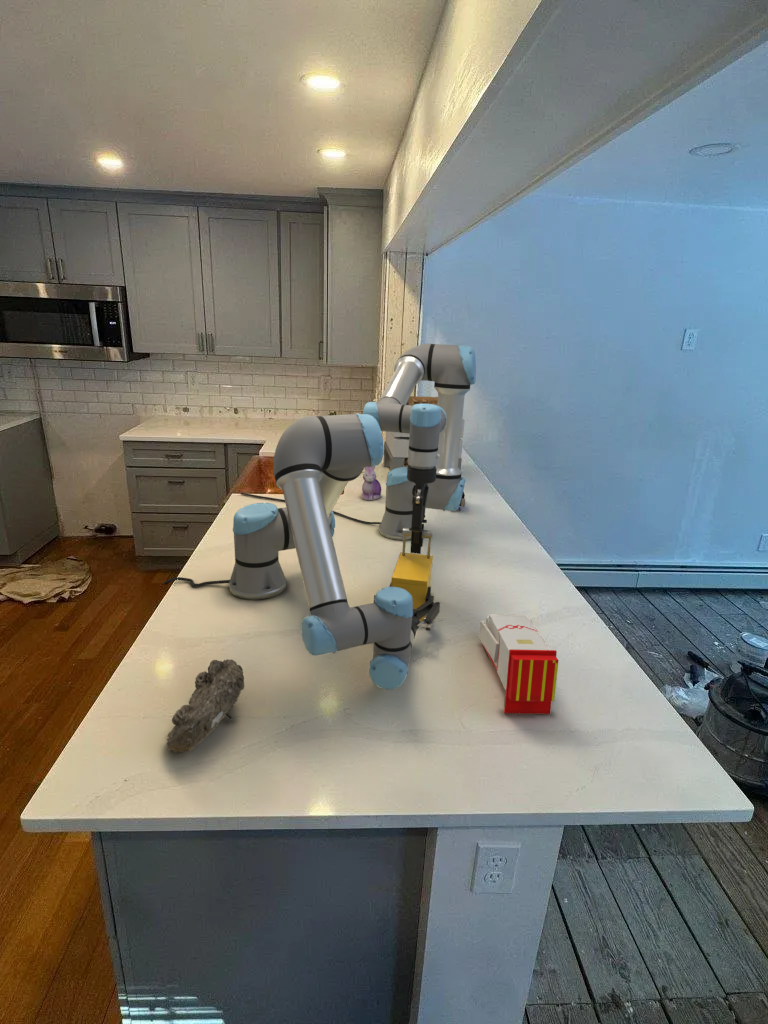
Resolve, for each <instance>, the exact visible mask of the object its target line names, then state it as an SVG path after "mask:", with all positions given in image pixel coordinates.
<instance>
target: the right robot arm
mask: <svg viewBox="0 0 768 1024" xmlns="http://www.w3.org/2000/svg"><path fill="white" fill-rule="evenodd" d="M476 377H477V363H476V353H475V350H474V348H473V347H471V346H468V345H461V344H443V343H442V344H441V343H439V344H438V343H421V344H418V345H415V346H413V347H411V348H410V349H408V350H407V351H405V352H404V353H402V354H401V355H400V356H399V357H398V358H397V360H396V362H395V364H394V367H393V374H392V376H391V378H390V380H389V382H388V383H387V385H386V387H385V388H384V389H383V390H384V391H383V392H382V394H381V396H380V398H379V399H378V401H368V402H366V404H364V407H363V410H362V414H369V415H371V416H373V417H374V418H375V419H376V420H377V422H378V424H379V426H380V429H381V432H386V431H387V432H399V433H409V434H410V435H409V448H408V462H407V463H408V464H409V466H404V467H401V468H396V469H393V470H391V471H390V470H389V472H388V473H387V475H386V482H385V504H384V505H385V507H384V508H385V509H384V513H383V515H382V519H381V522H380V521H365V520H361V519H358V518H355V517H352V516H349V515H345V514H344V513H341V512H338V511H335V510H332V511H333V513H334V515H339V516H340V517H343V518H346V519H349V520H351V521H354V522H358V523H362V524H367V525H378V533H379V534H380V535H381V536H382V537H385V538H387V539H389V540H395V541H403V528H409V531H412V534H411V537H409V536H406V541H410V552H409V553H412V554H421V553H422V548H423V545H424V538H422V530H425V524H427V523H428V519H425V518H426V509H430V510H431V509H432V510H440V511H443V512H445V511H447V512H455V511H457V510H459V509H458V507H459V505H460V502H461V498H462V494H463V491H464V490H465V485H466V478H465V477H463V476H462V475H463V474H462V469H461V470H460V469H459V468H458V459H459V449H460V439H462V438H461V428H462V419H463V418H464V408H465V407H464V406H465V405H464V404H465V396H466V394H467V393H468V392H469V391H470V390H471V386H472V385H475V384H476V380H477V378H476ZM421 381H423V382H424V381H425V382H434V383H433V387H434V389H435V391H436V392H437V397H438V402H437V405H434V404H415V405H406V404H407V402H408V400H409V398H410V396H411V395H412V393H413V392H414V390H415V387H416V385H417V384H419V383H420V382H421ZM240 495H244V496H248V497H253V498H259V499H265V500H271V501H277V502H284V503H285V499H281V498H276V497H269V496H262V495H256V494H252V493H245V492H240Z"/></svg>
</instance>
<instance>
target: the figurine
mask: <svg viewBox="0 0 768 1024" xmlns="http://www.w3.org/2000/svg"><path fill="white" fill-rule="evenodd" d="M375 468H376V466H373V467H371V466H369V467H365V468H364V472H363V474H362V479H363V483H362V485H361V491H362V493H361V498H362V500H364V501H365V500H366V501H373V500H377V499H380V498H381V497H382V496H381V495H382V486H381V483H380V481H379V480H378V479H377V474H376V471H375Z"/></svg>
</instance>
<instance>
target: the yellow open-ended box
mask: <svg viewBox="0 0 768 1024" xmlns="http://www.w3.org/2000/svg"><path fill="white" fill-rule="evenodd" d="M432 563H433V561H432ZM432 573H433V564H432V565H431V570H430V575H429V579H428V584H427V585H418V584H410V583H401V582H392V581H391V582H390V583H391V587H399V588H402V589H405V590H406V591H407V592H409V593H410V594H411V596H412V600H413V609H417V608H418V607H420V606H421V605H422V604H424V603H425V600H426V595H427V590H428V587H431V585H432ZM431 588H432V587H431ZM426 615H427V614H426ZM426 615H425V616H424V617H426ZM424 617H422V618H421V619H420V620H419V621H422V620H423V619H424Z"/></svg>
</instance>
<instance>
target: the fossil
mask: <svg viewBox="0 0 768 1024" xmlns="http://www.w3.org/2000/svg"><path fill="white" fill-rule="evenodd" d="M243 670H244V669H243V667H242V665H240V664H237V662H236V661H235V660H234V659H232V658H231V659H227V658H226V659H224V660H223V661H222V660H217V659H212V660H211V661H210V663H209V665H208V666H207V671H201V672H199V673H198V674H197V675H196V676H195V680H194V684H195V685H194V687H195V689H194V690H193V693H192V694H191V697H190V698H189V700H188V704H184V705H182V706H181V707H180V709H177V710H176V711H175V713H174V715H173V716H172V718H171V723H172V724H173V727H172V730H171V731H170V732H168V734H167V738H166V741H167V742H166V745H167V749H168V750H169V751H173V752H174V753H176V754H178V753H182V752H188V751H189V752H192V751H193V750H195V748H196V747H197V746H199V744H200V743H201V742H203V741H204V740H205V739H206V738H207V737H208V736H209V735H210V734H211V733H212V732H214V730H215V729H217V727H218V726H219V724H220V722H221V721H222V720H223V719H224V718H225V716H226V717H227V719H229V720H233V717H232V715H230V714H229V710H230V709H231V708H234V706H235V704H236V703H237V702H238V699H239V697H240V695H241V693H242V691H243V690H245V689H244V688H245V675H244V671H243Z"/></svg>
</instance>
